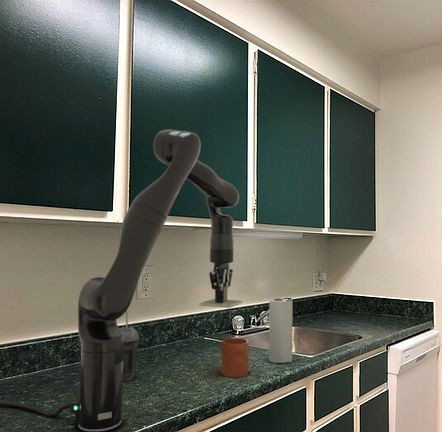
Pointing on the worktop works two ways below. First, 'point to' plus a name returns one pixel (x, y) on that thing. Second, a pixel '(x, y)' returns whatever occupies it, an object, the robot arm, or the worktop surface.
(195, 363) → the worktop surface
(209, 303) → the lid
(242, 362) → the tumbler
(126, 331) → the beverage cup
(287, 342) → the paper towel roll
